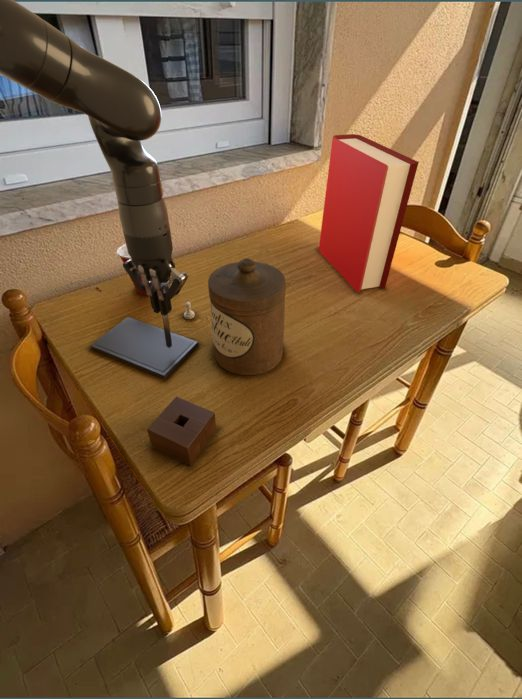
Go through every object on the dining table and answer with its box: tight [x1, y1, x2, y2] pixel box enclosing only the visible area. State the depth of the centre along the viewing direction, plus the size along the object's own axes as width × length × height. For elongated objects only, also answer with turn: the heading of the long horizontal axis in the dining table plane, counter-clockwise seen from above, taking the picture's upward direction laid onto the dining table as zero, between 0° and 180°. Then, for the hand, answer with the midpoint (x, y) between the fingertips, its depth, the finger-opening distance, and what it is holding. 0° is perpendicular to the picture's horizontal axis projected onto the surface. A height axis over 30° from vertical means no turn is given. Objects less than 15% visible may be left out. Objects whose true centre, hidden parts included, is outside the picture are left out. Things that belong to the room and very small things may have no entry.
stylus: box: [161, 313, 172, 348], centre depth 75 cm, size 1×1×14 cm
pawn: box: [183, 301, 196, 320], centre depth 91 cm, size 3×3×4 cm
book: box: [318, 133, 419, 294], centre depth 101 cm, size 27×8×32 cm, turn 18°
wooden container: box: [207, 257, 287, 376], centre depth 76 cm, size 15×15×22 cm
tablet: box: [89, 316, 199, 380], centre depth 83 cm, size 12×20×1 cm, turn 63°
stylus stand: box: [146, 396, 217, 467], centre depth 64 cm, size 8×8×5 cm
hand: (162, 312), depth 74 cm, fingers closed on stylus, 1 cm apart
